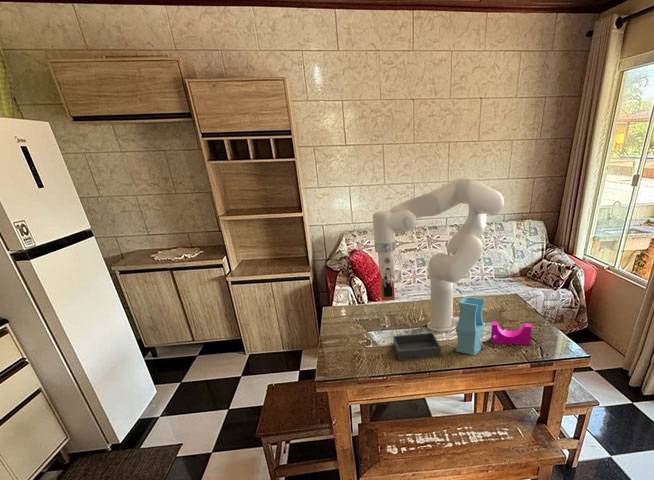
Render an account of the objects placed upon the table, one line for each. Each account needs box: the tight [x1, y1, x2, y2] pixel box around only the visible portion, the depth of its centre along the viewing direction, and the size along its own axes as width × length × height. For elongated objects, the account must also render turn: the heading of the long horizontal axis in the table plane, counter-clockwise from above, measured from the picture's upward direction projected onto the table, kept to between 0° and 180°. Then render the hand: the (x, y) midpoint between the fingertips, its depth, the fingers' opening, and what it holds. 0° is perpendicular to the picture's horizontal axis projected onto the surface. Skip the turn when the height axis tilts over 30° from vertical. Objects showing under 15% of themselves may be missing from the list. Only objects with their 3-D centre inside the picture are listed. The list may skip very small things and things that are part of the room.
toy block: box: [490, 320, 533, 346], centre depth 163 cm, size 15×6×8 cm, turn 76°
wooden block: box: [379, 278, 396, 302], centre depth 160 cm, size 5×5×7 cm
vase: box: [455, 296, 486, 356], centre depth 153 cm, size 8×8×20 cm
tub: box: [392, 332, 442, 361], centre depth 158 cm, size 16×14×4 cm
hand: (387, 293), depth 161 cm, fingers closed on wooden block, 5 cm apart
